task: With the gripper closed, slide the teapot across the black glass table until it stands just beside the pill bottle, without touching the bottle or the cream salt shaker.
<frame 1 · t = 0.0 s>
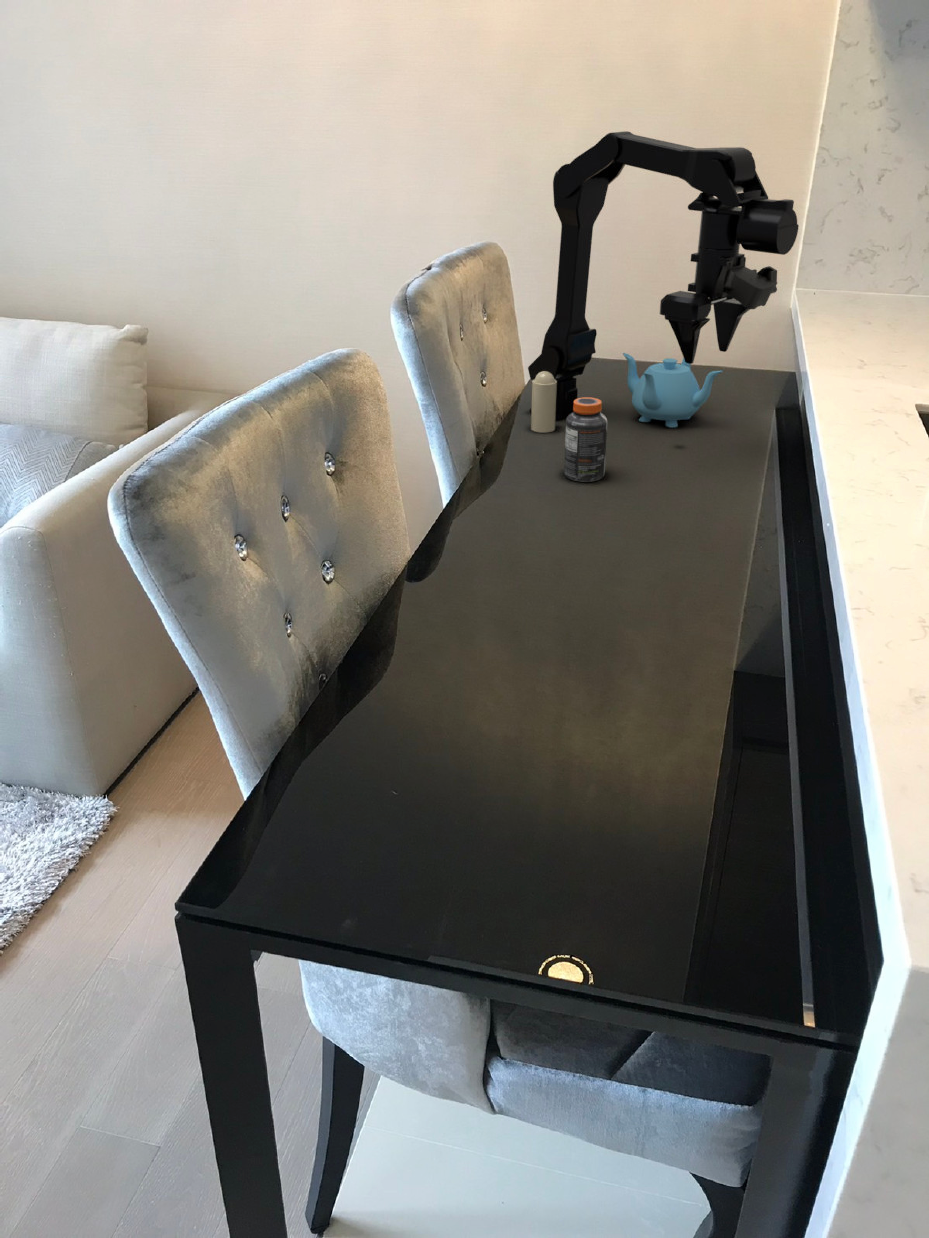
hand: (706, 357, 148), 15 cm above the table, tool pointing down, fingers open, 9 cm apart
teapot: (665, 420, 169), on the table
pill bottle: (583, 476, 147), on the table
salt shaker: (543, 428, 165), on the table
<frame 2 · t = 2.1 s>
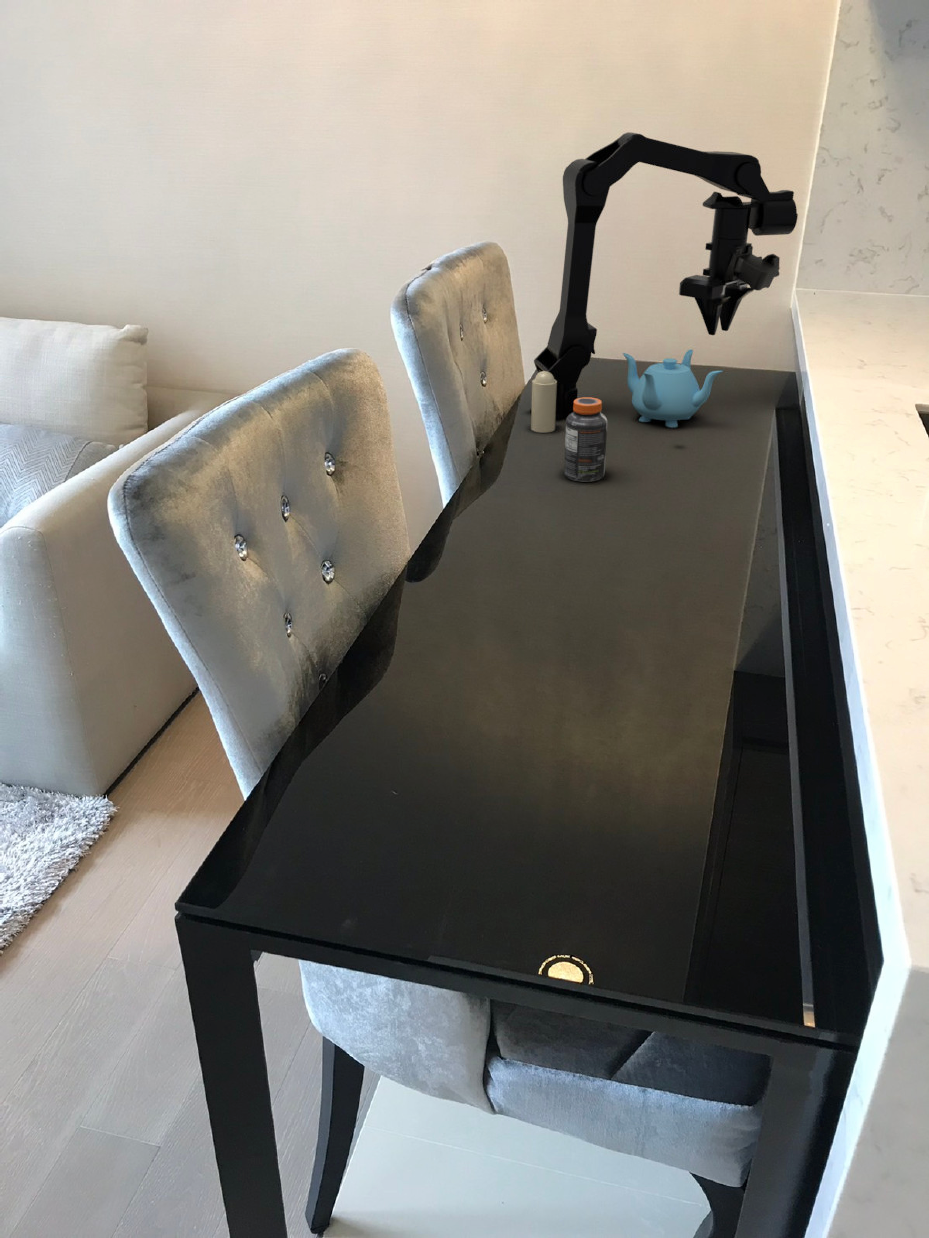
hand: (718, 332, 172), 12 cm above the table, tool pointing down, fingers open, 4 cm apart
nothing on the table moved.
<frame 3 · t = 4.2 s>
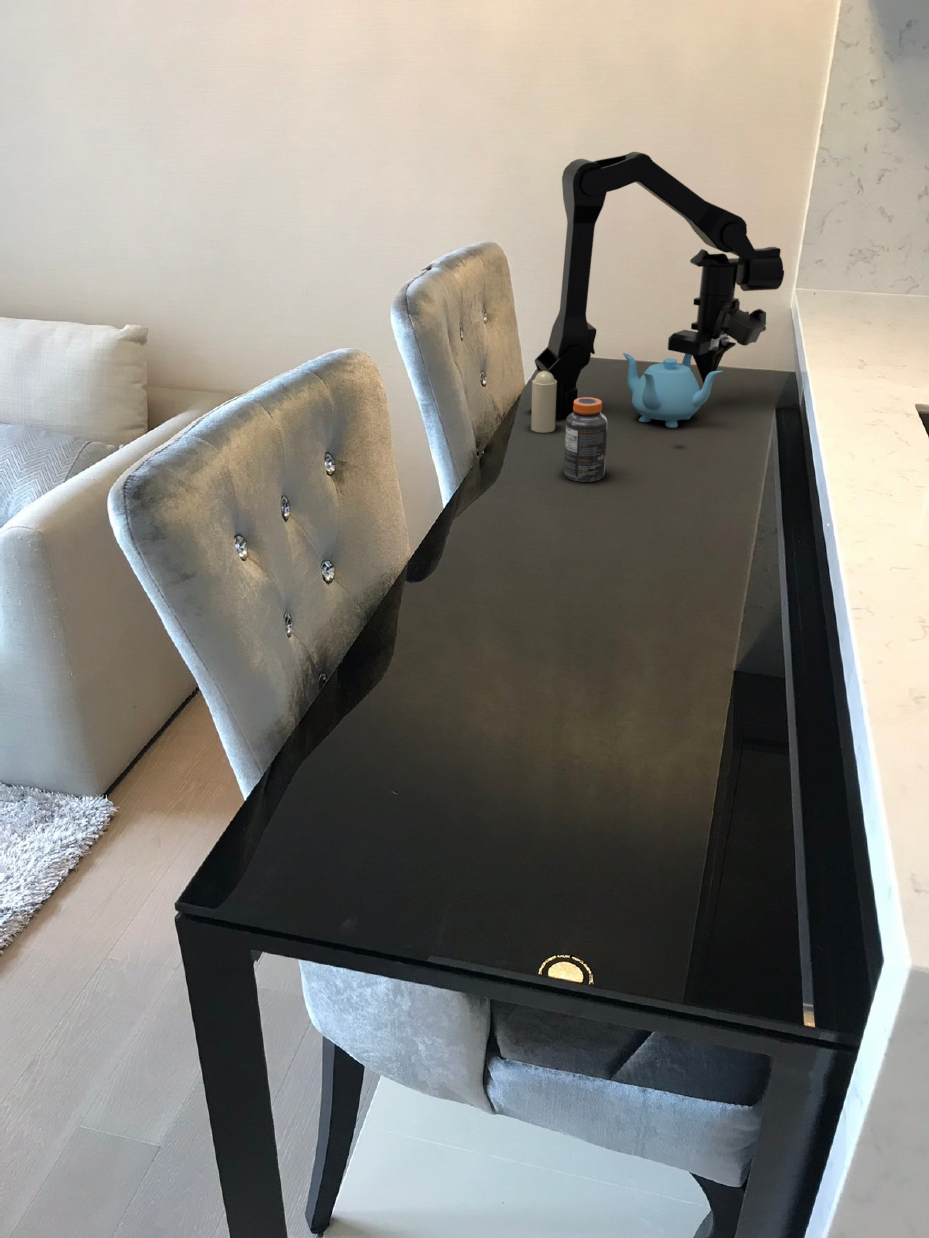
hand: (706, 384, 175), 3 cm above the table, tool pointing down, fingers closed
teapot: (665, 420, 169), on the table, touching gripper
everything else where it was.
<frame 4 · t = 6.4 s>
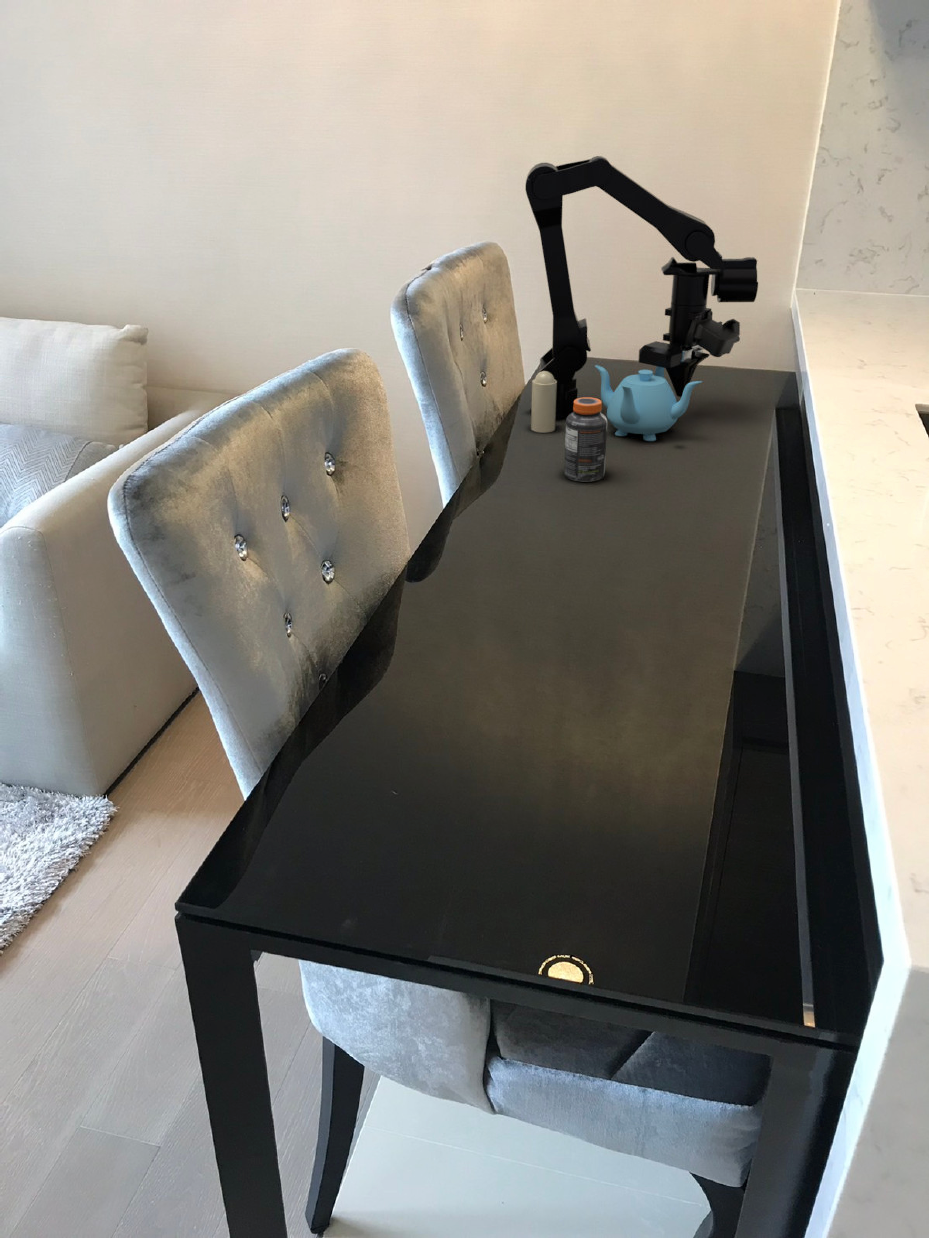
hand: (680, 396, 170), 3 cm above the table, tool pointing down, fingers closed
teapot: (642, 433, 164), on the table, touching gripper
everything else where it was.
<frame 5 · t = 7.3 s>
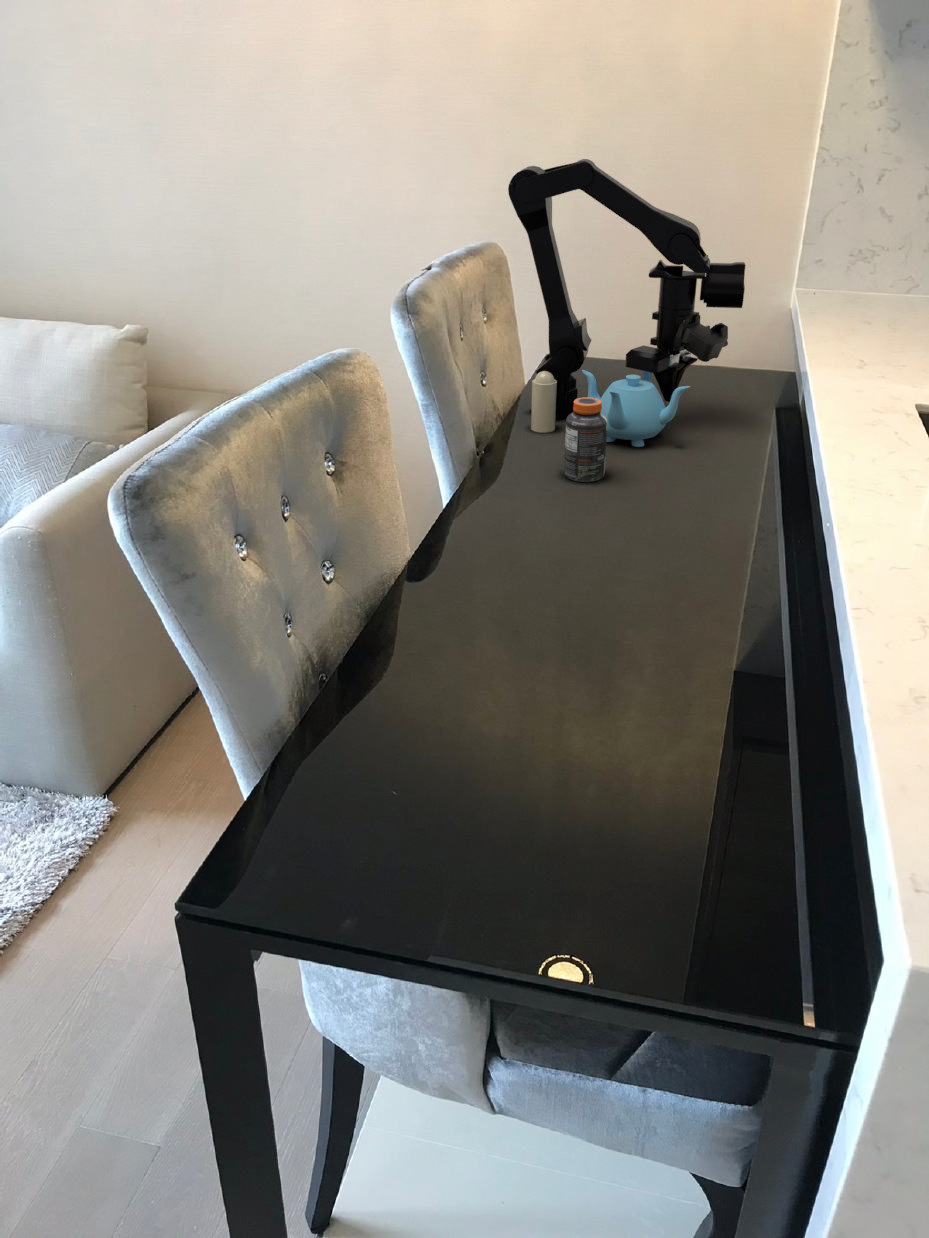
hand: (668, 401, 168), 3 cm above the table, tool pointing down, fingers closed
teapot: (629, 439, 161), on the table, touching gripper
everything else where it was.
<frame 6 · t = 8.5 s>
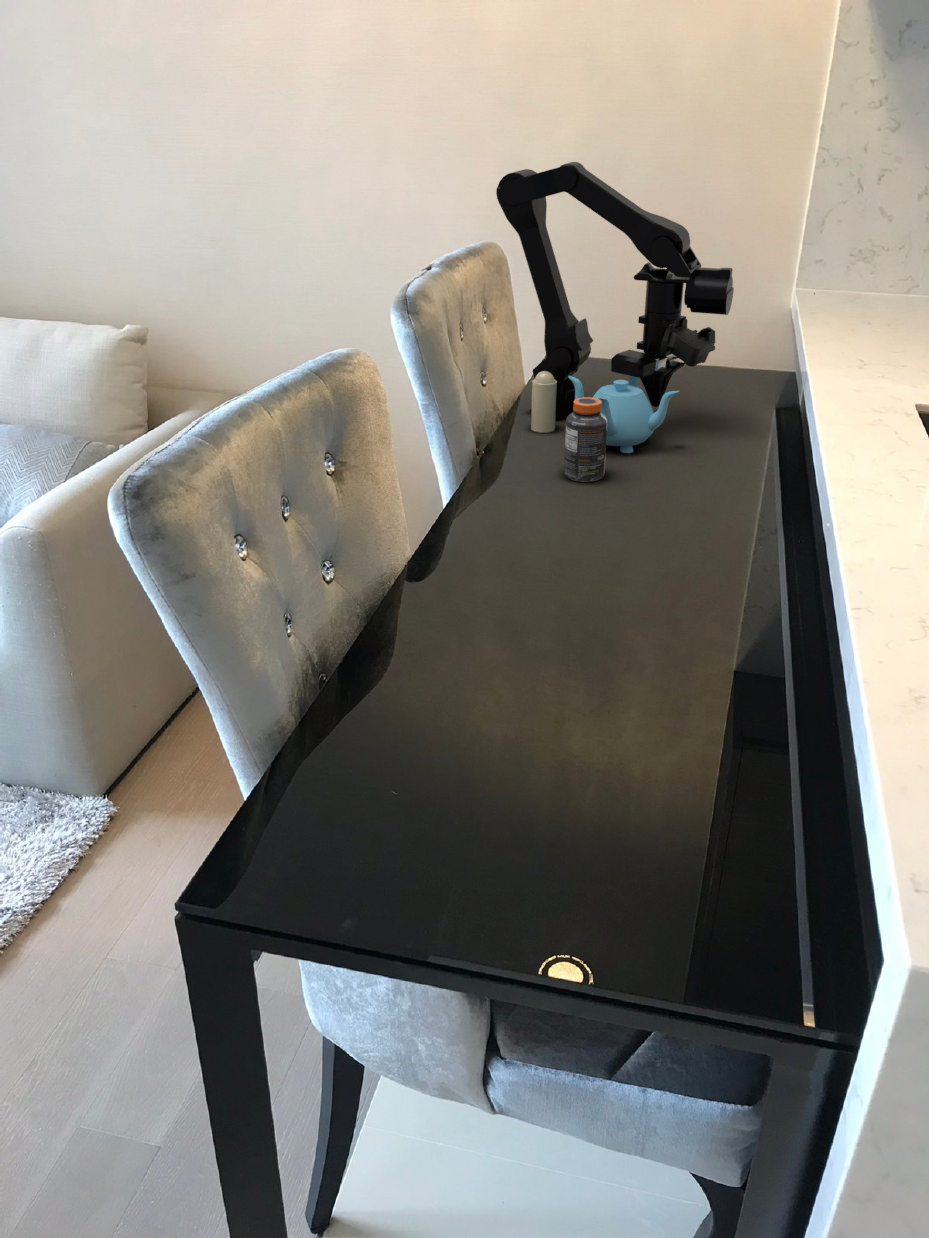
hand: (655, 406, 165), 3 cm above the table, tool pointing down, fingers closed
teapot: (618, 445, 159), on the table, touching gripper
everything else where it was.
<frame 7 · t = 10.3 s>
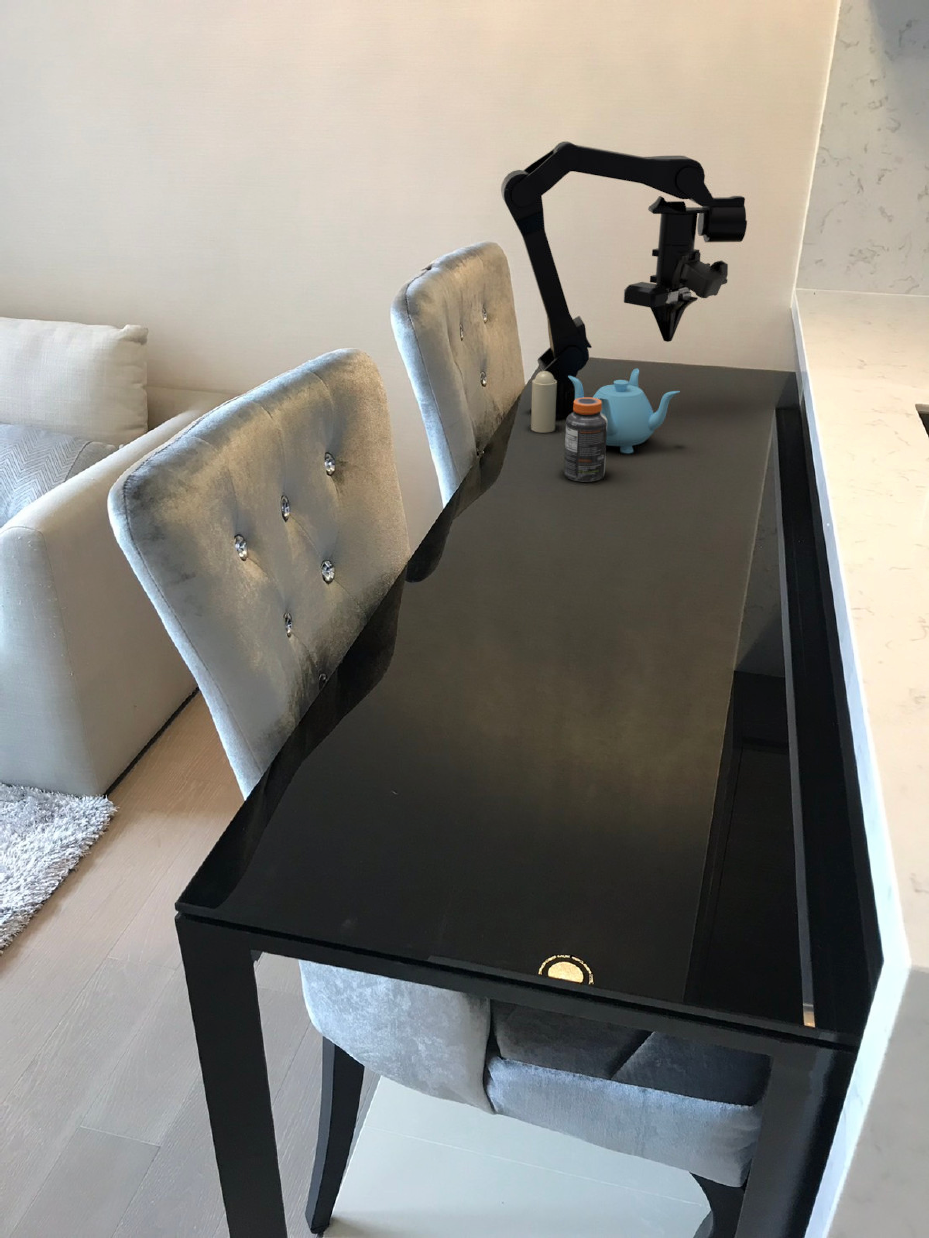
hand: (667, 341, 167), 12 cm above the table, tool pointing down, fingers closed
teapot: (618, 445, 159), on the table
everything else where it was.
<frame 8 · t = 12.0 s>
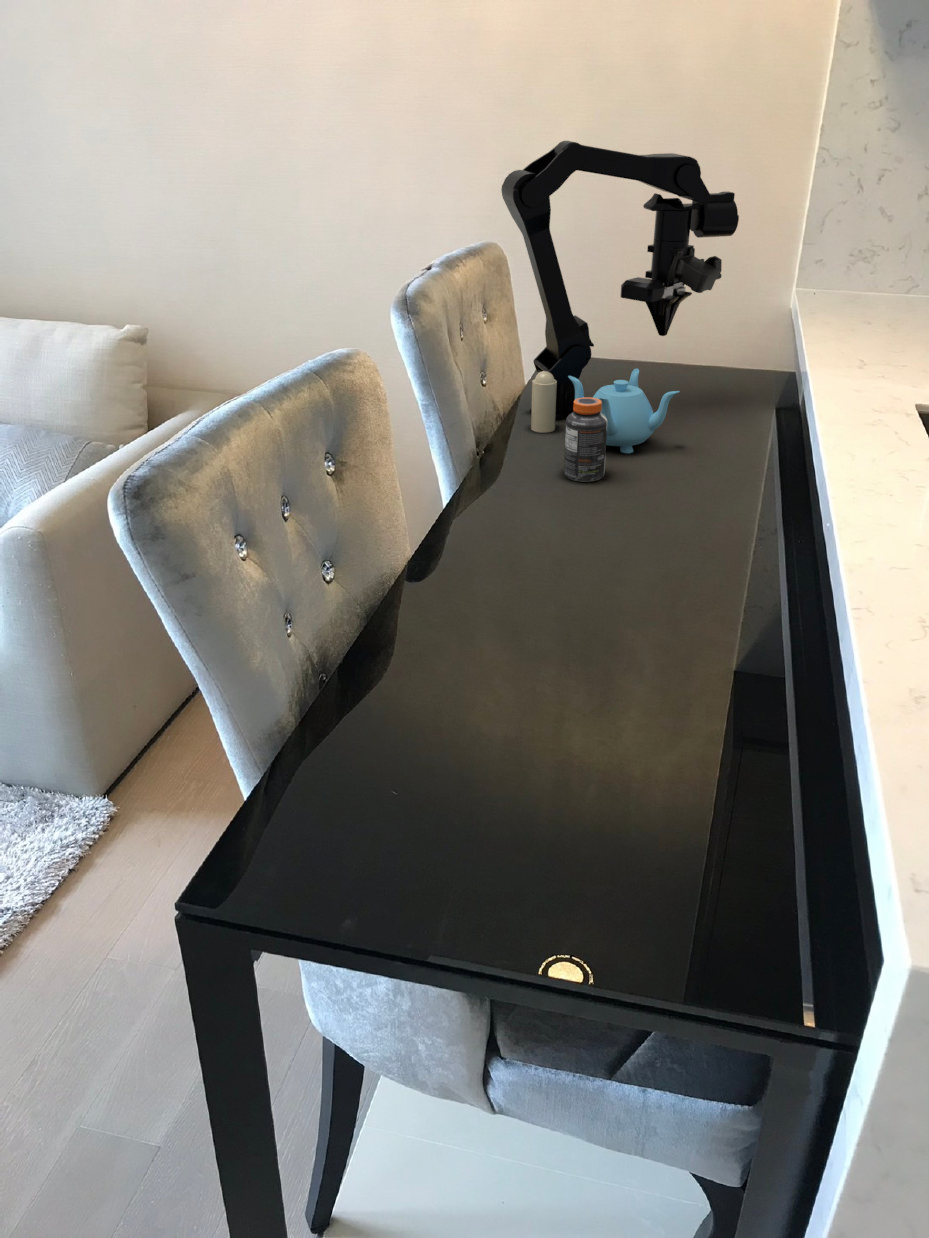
hand: (662, 335, 171), 12 cm above the table, tool pointing down, fingers closed
nothing on the table moved.
at the end: teapot inside the target area on the table beside the pill bottle (2.3 cm from its centre), on the table; teapot moved 15.6 cm from its start; pill bottle moved 0.2 cm from its start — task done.
